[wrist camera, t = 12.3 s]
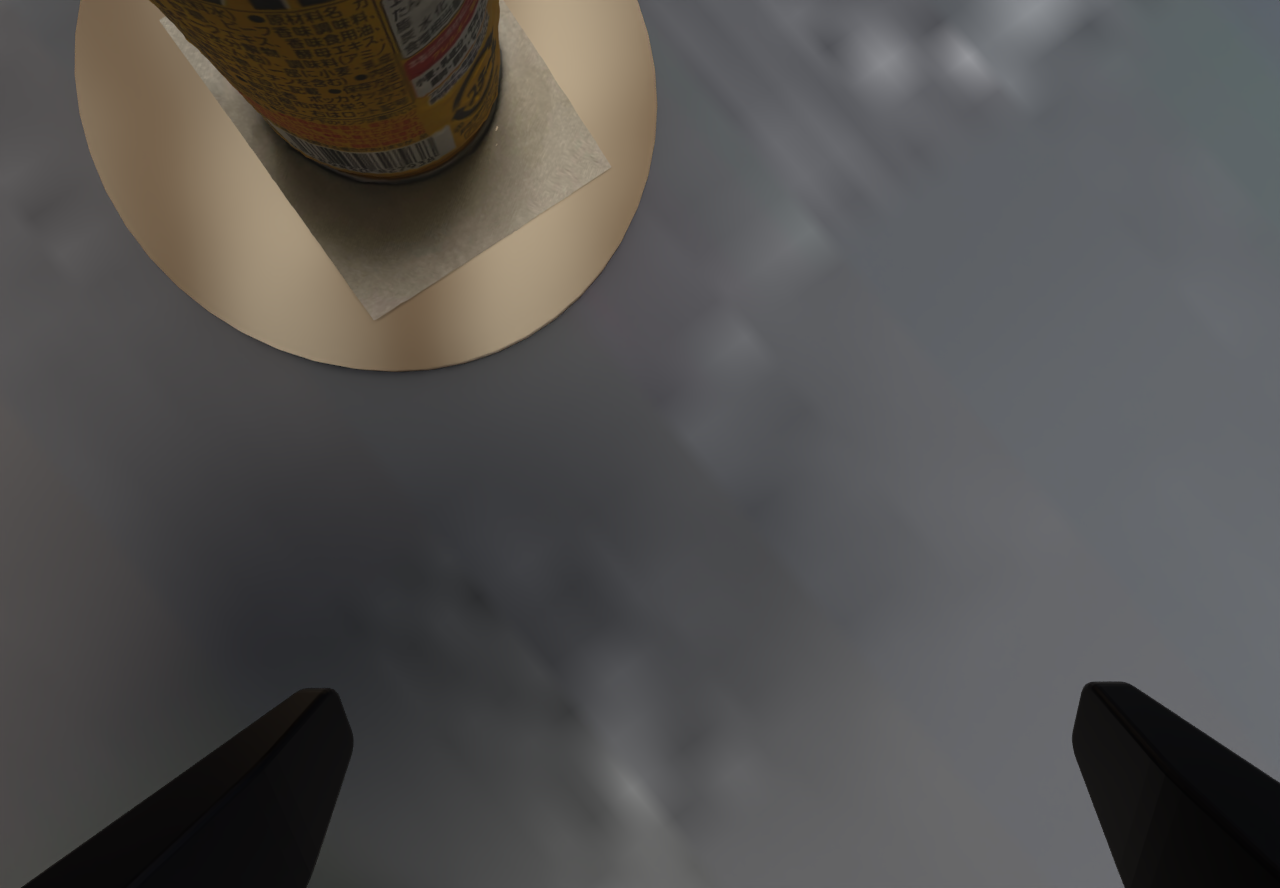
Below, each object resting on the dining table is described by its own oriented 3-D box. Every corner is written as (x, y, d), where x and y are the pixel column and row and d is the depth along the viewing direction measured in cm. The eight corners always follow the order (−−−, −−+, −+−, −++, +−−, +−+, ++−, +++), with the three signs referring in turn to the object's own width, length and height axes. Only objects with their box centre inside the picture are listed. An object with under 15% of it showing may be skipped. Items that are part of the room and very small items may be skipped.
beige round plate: (203, 431, 19) (184, 433, 18) (18, -122, 17) (-14, -153, 16) (706, 300, 20) (714, 295, 19) (574, -216, 19) (576, -249, 18)
